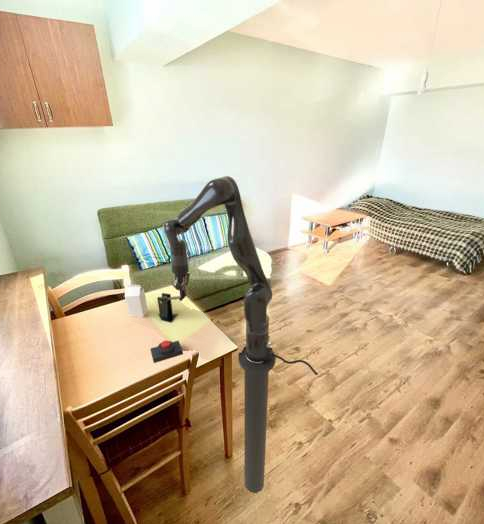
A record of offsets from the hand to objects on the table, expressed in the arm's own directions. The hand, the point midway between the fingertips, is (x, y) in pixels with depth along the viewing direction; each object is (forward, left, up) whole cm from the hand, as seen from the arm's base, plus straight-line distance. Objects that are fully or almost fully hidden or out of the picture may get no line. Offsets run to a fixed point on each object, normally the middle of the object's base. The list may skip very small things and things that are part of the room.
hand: (183, 295), depth 132 cm
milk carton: (+25, +3, -15) cm, 29 cm away
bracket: (+11, 0, -15) cm, 18 cm away
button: (-3, +23, -11) cm, 26 cm away
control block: (-3, +23, -15) cm, 27 cm away
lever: (+5, 0, -3) cm, 6 cm away
